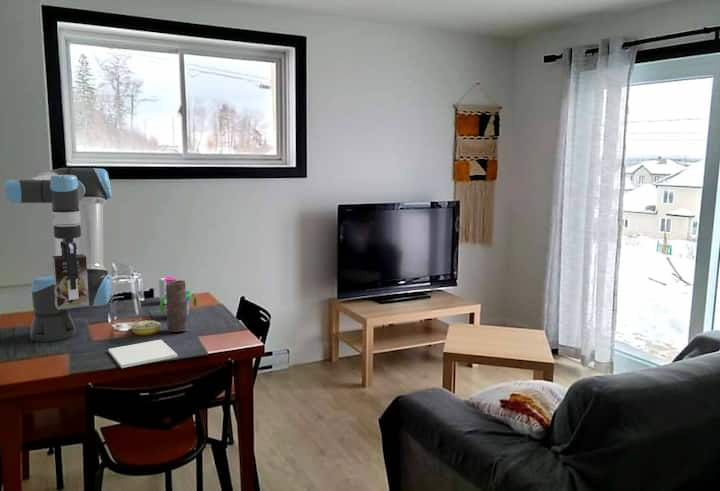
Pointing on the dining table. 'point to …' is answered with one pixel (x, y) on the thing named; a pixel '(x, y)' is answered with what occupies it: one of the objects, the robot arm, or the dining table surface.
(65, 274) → the coffee box
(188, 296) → the snack cup
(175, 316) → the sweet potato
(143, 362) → the pad
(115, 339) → the dining table surface
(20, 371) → the dining table surface
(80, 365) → the dining table surface
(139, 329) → the decorated donut
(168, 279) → the supplement box
